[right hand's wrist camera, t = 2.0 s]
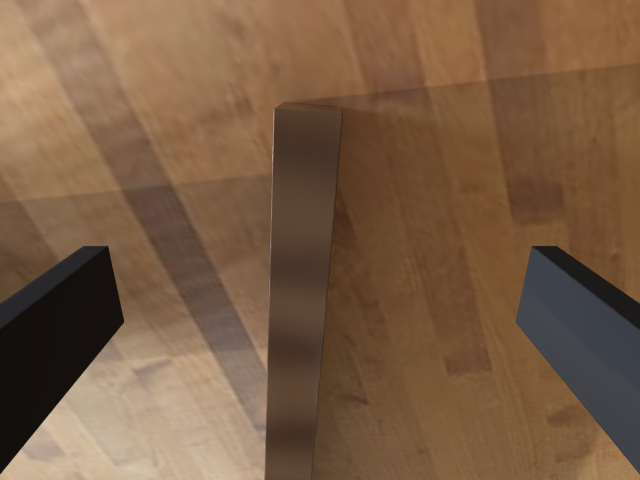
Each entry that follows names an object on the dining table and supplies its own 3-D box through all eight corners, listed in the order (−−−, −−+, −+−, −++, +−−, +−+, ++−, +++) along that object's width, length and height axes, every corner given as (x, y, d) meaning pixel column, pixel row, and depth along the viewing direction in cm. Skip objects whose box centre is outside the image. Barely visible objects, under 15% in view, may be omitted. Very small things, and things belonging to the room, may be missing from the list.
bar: (283, 102, 35) (273, 108, 28) (337, 106, 35) (342, 113, 28) (268, 543, 57) (261, 612, 50) (302, 544, 58) (299, 613, 50)
